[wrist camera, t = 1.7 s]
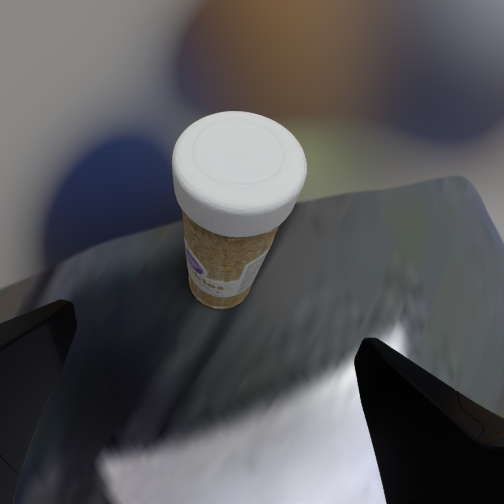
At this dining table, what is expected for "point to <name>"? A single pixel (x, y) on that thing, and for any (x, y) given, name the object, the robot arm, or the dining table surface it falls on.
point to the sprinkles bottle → (233, 199)
